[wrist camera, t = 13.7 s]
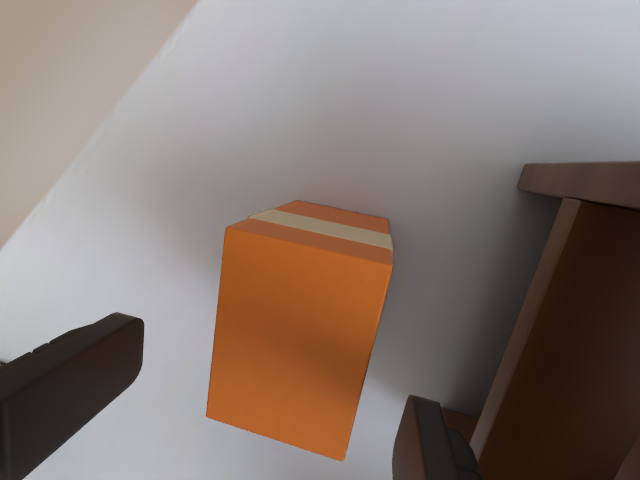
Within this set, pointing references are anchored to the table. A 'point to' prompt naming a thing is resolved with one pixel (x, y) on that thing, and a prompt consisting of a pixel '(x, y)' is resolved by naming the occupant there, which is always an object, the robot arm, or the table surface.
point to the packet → (298, 322)
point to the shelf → (571, 340)
